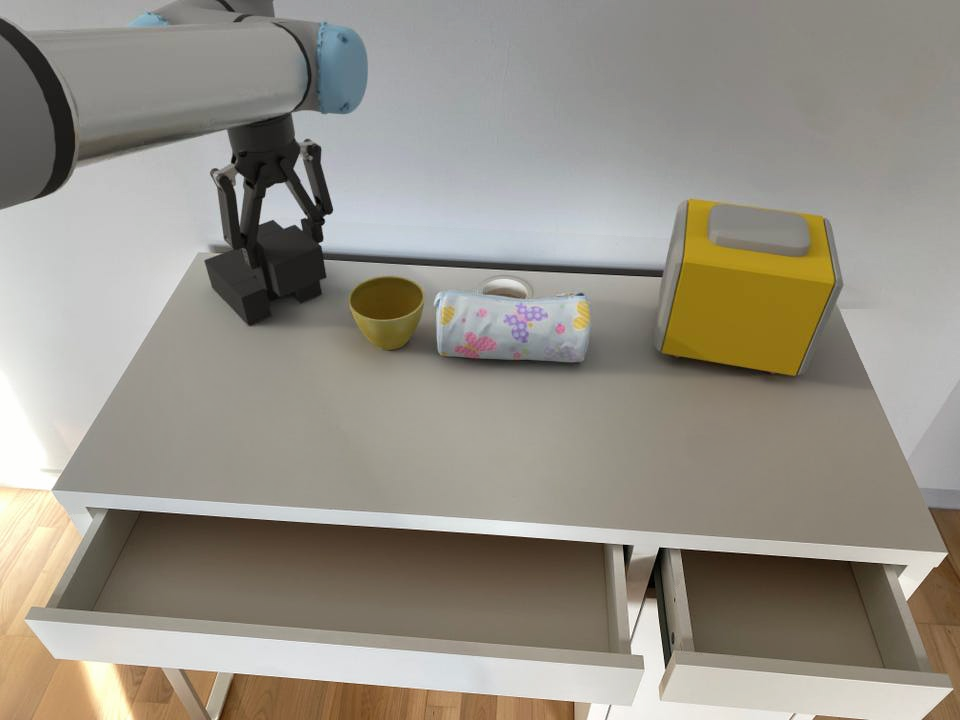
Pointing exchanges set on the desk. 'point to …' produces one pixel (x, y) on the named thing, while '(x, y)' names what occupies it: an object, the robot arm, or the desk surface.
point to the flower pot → (387, 310)
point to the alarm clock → (747, 286)
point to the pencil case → (513, 326)
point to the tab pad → (290, 257)
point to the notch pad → (247, 287)
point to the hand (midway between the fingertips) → (290, 273)
